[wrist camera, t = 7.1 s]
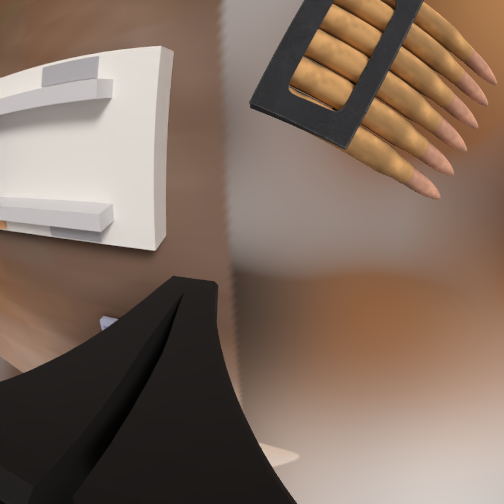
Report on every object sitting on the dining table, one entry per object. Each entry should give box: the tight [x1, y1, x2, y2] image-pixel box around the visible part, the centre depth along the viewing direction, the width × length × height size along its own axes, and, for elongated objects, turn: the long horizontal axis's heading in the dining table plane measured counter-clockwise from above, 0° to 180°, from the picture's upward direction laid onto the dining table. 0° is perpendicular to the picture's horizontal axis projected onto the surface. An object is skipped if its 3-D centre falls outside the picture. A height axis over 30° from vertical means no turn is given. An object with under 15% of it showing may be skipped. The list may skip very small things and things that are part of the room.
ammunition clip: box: [249, 0, 497, 199], centre depth 12 cm, size 11×2×12 cm
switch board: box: [0, 46, 174, 251], centre depth 14 cm, size 11×18×4 cm, turn 84°
